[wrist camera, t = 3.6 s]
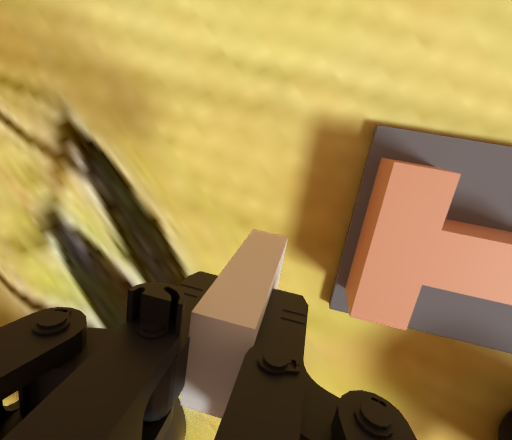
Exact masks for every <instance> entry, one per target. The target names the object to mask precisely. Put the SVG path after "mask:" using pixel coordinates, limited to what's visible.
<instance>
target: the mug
mask: <svg viewBox="0 0 512 440" xmlns="http://www.w3.org/2000/svg"><path fill="white" fill-rule="evenodd" d="M498 439H499V440H512V411H510V412H509V413H508V414H507V415H506V416H505V418H504V419H503V421H502V422H501V425H500V428H499V434H498Z"/></svg>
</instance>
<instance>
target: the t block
mask: <svg viewBox="0 0 512 440" xmlns="http://www.w3.org/2000/svg"><path fill="white" fill-rule="evenodd" d="M460 176H461V174H460V173H456V172H452V171H448V170H445V169H441V168H437V167H432V166H427V165H421V164H415V163H410V162H404V161H398V160H393V159H387V158H381V160H380V164H379V167H378V171H377V175H376V178H375V182H374V185H373V189H372V193H371V196H370V200H369V204H368V207H367V211H366V215H365V218H364V222H363V226H362V229H361V233H360V237H359V240H358V244H357V247H356V251H355V255H354V258H353V262H352V266H351V269H350V273H349V277H348V280H347V284H346V288H345V290H346V296H347V302H348V308H349V314H350V317H353V318H357V319H361V320H365V321H369V322H373V323H377V324H381V325H385V326H389V327H394V328H398V329H402V330H406V329H407V327H408V324H409V321H410V318H411V315H412V312H413V310H414V307H415V304H416V301H417V298H418V295H419V292H420V290H421V287H422V285H425V286H429V287H434V288H438V289H443V290H447V291H451V292H456V293H460V294H464V295H469V296H473V297H478V298H482V299H486V300H491V301H495V302H500V303H504V304H508V305H512V232H509V231H504V230H499V229H494V228H489V227H484V226H479V225H474V224H469V223H464V222H459V221H454V220H449V219H445V218H446V216H447V213H448V210H449V207H450V204H451V201H452V199H453V196H454V193H455V190H456V187H457V184H458V181H459V179H460Z"/></svg>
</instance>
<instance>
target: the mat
mask: <svg viewBox="0 0 512 440" xmlns="http://www.w3.org/2000/svg"><path fill="white" fill-rule="evenodd" d="M381 158H387V159H393V160H398V161H404V162H410V163H415V164H421V165H427V166H432V167H437V168H441V169H445V170H448V171H452V172H456V173H460V174H461V176H460V179H459V181H458V184H457V187H456V190H455V193H454V196H453V199H452V201H451V204H450V207H449V210H448V213H447V216H446V218H445V219H449V220H454V221H459V222H464V223H469V224H474V225H479V226H484V227H489V228H494V229H499V230H504V231H509V232H512V147H509V146H503V145H497V144H491V143H485V142H479V141H472V140H466V139H460V138H454V137H448V136H442V135H436V134H429V133H423V132H417V131H411V130H405V129H399V128H392V127H386V126H380V125H376V127H375V131H374V134H373V138H372V142H371V146H370V150H369V154H368V157H367V161H366V165H365V169H364V173H363V176H362V180H361V184H360V188H359V192H358V196H357V199H356V203H355V207H354V211H353V215H352V218H351V222H350V226H349V230H348V234H347V238H346V241H345V245H344V249H343V253H342V257H341V260H340V264H339V268H338V272H337V276H336V280H335V283H334V287H333V291H332V295H331V299H330V302H329V308H330V309H334V310H338V311H342V312H346V313H349V308H348V302H347V296H346V290H345V288H346V284H347V280H348V277H349V273H350V269H351V266H352V262H353V258H354V255H355V251H356V247H357V244H358V240H359V237H360V233H361V229H362V226H363V222H364V218H365V215H366V211H367V207H368V204H369V200H370V196H371V193H372V189H373V185H374V182H375V178H376V175H377V171H378V167H379V164H380V160H381ZM407 328H410V329H414V330H418V331H422V332H426V333H430V334H434V335H438V336H442V337H446V338H450V339H454V340H458V341H463V342H467V343H471V344H475V345H479V346H483V347H487V348H491V349H495V350H499V351H503V352H507V353H511V354H512V305H508V304H504V303H500V302H495V301H491V300H486V299H482V298H478V297H473V296H469V295H464V294H460V293H456V292H451V291H447V290H443V289H438V288H434V287H429V286H425V285H422V287H421V290H420V292H419V295H418V298H417V301H416V304H415V307H414V310H413V312H412V315H411V318H410V321H409V324H408V327H407Z"/></svg>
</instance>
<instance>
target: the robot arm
mask: <svg viewBox="0 0 512 440" xmlns="http://www.w3.org/2000/svg"><path fill="white" fill-rule="evenodd" d="M287 240H288V237H286V236H281V235H277V234H272V233H268V232H264V231H259V230H255V229H253V230H252V232H251V233H250V234H249V236H248V237H247V238H246V240H245V241H244V242H243V244H242V245H241V246H240V248H239V249H238V250H237V252H236V253H235V254H234V256H233V257H232V258H231V260H230V261H229V262H228V264H227V265H226V266H225V268H224V269H223V270H222V272H221V273H220V274H219V276H217V275H213V274H209V273H205V272H201V271H200V272H197V273H195V274H192V275H190V276H188V277H187V278H186V279H185V280H184V281H183V282H182V283H181V285H179V286H178V287H176V286H173V285H171V284H168V283H161V282H150V283H143V284H139V285H136V286H134V287H132V288H130V289H129V290H128V301H127V321H126V322H125V323H124V324H123V325H122V326H121V327H120V328H119V329H103V328H87V322H86V316H85V315H84V314H83V313H82V312H81V311H80V310H76V309H73V308H67V307H56V308H49V309H44V310H41V311H38V312H35V313H32V314H30V315H28V316H25V317H23V318H21V319H18V320H16V321H14V322H12V323H9V324H7V325H5V326H3V327H0V440H184V439H185V434H186V421H185V415H184V411H183V408H182V406H184V407H188V408H191V409H194V410H197V411H200V412H203V413H206V414H209V415H212V416H215V417H218V418H222V420H221V423H220V425H219V428H218V431H217V434H216V436H215V439H214V440H417V439H416V437H415V435H414V433H413V431H412V429H411V428H410V426H409V424H408V422H407V421H406V419H405V418H404V417H403V415H402V414H401V413H400V411H399V410H398V409H397V408H395V407H394V406H393V405H392V404H391V403H390V402H388V401H387V400H385V399H383V398H382V397H380V396H378V395H376V394H374V393H370V392H366V391H362V390H358V391H349V392H348V393H346V394H344V395H342V397H341V399H340V398H338V397H337V396H335V395H333V394H331V393H330V392H328V391H326V390H325V389H323V388H322V387H320V386H319V385H318V384H317V383H316V382H315V381H314V380H313V379H311V377H310V376H309V374H308V373H307V371H306V369H305V366H304V361H303V356H304V346H305V335H306V324H307V314H308V304H307V303H306V301H305V299H304V297H303V296H301V295H297V294H293V293H289V292H285V291H281V290H277V289H278V284H279V279H280V274H281V269H282V265H283V260H284V255H285V250H286V245H287ZM16 391H18V394H19V400H18V401H17V402H15V403H13V404H11V405H9V406H3V402H2V400H3V399H5V398H6V397H8V396H10V395H11V394H13V393H14V392H16ZM181 391H182V396H181V403H180V401H179V399H178V396H179V395H180V393H181Z"/></svg>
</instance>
